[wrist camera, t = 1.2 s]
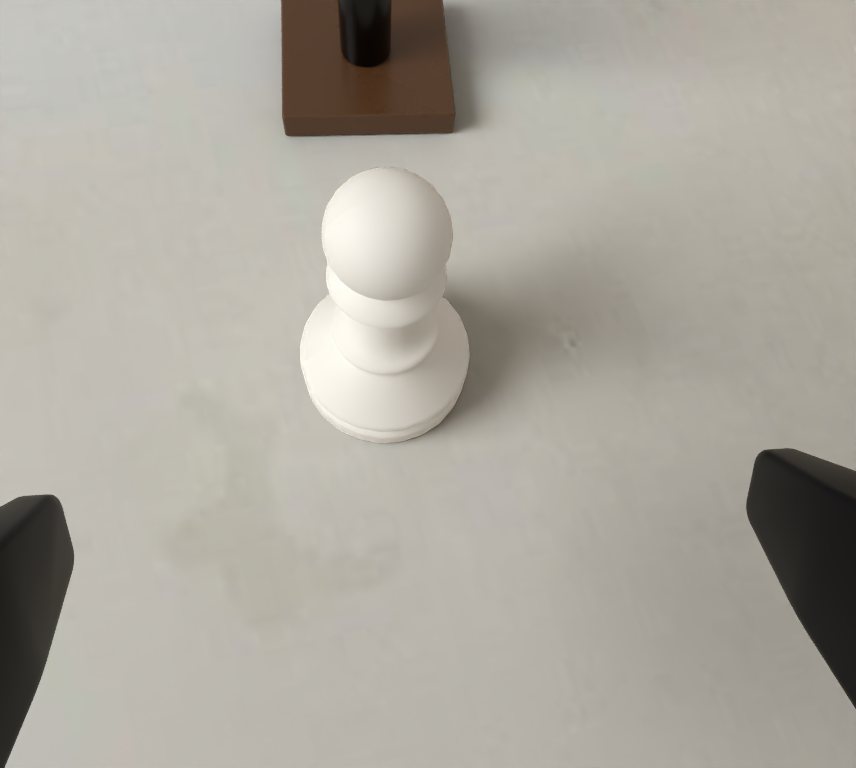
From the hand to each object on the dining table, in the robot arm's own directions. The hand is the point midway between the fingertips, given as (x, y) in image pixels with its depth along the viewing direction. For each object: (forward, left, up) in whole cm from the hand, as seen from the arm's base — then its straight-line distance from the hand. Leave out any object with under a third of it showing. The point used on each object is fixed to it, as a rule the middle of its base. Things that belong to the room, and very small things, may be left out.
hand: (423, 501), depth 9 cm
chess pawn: (+5, -4, -12) cm, 14 cm away
